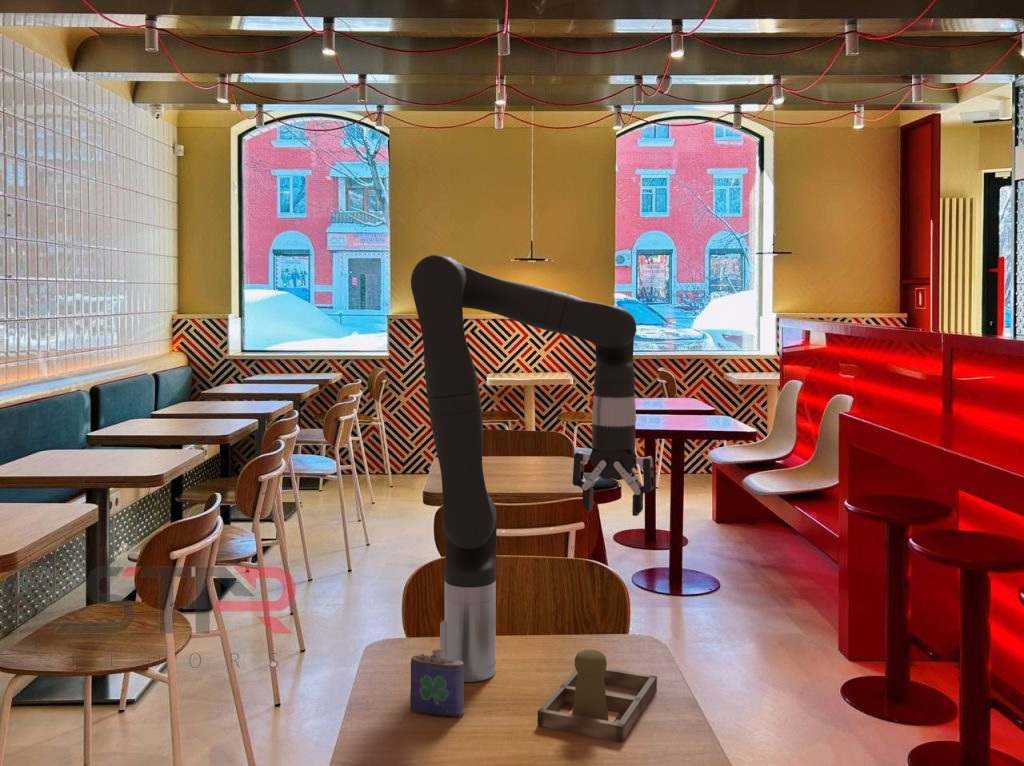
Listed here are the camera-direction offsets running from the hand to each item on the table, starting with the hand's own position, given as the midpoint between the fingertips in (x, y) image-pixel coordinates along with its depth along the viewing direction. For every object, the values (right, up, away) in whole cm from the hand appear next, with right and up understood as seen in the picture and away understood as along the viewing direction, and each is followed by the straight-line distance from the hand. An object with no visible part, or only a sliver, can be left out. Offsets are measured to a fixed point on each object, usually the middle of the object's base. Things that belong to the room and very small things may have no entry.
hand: (612, 512), depth 169 cm
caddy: (-3, -31, -9) cm, 33 cm away
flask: (-30, -32, -11) cm, 45 cm away
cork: (-5, -32, -14) cm, 35 cm away
